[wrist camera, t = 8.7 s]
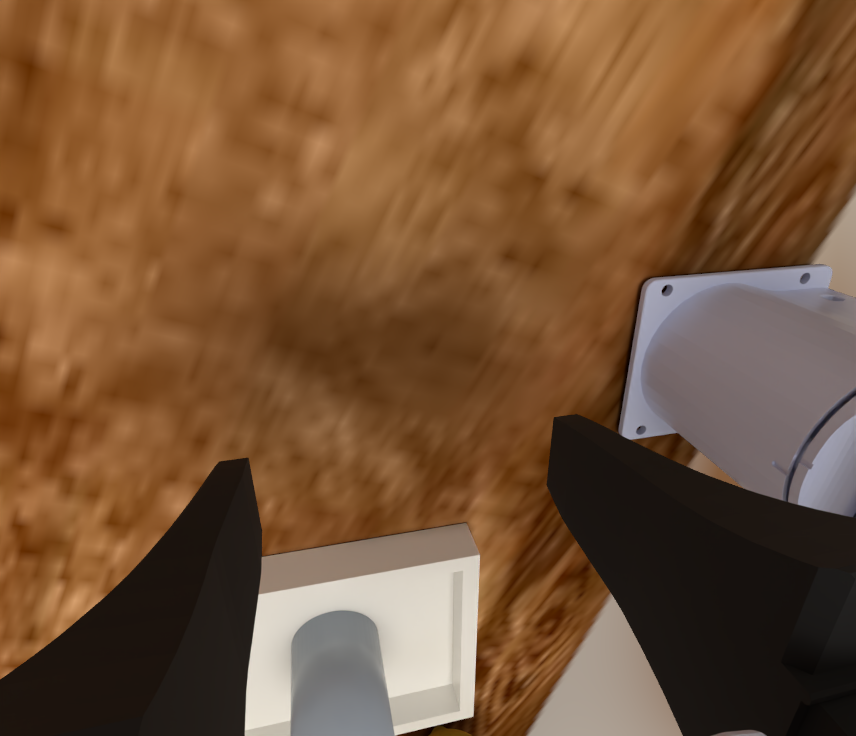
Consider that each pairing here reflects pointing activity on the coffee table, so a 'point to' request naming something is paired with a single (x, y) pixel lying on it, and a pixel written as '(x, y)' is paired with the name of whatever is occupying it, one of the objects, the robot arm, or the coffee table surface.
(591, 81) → the coffee table surface
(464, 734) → the lemon
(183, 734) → the robot arm
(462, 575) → the tray
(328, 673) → the cylinder
